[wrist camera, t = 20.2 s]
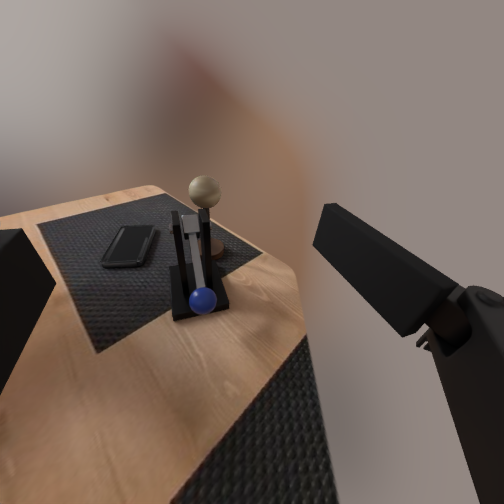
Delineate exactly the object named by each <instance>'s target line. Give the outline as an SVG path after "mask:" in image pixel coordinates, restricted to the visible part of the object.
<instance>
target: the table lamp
mask: <svg viewBox="0 0 504 504" xmlns="http://www.w3.org/2000/svg"><path fill="white" fill-rule="evenodd" d="M189 196H190V198H191V200H192V201H193V203H194V204H195V205H197V206H199V207H201V208H203V209H205V211H206V213H207V216H208V218H209V221H210V214H209V208H211V207H213V206H215V205H216V204H217V203H218V202H219V200H220V197H221V188H220V186H219V184H218V182H217V181H216V180H215V179H214V178H212V177H210V176H199V177H196V178H195V179H194V180H193V181H192V182H191V184H190V187H189ZM197 242H198V248H199V253H200V259H201V261H202V251H201V239H200V240H198V241H197ZM223 254H224V244H223V243H222V242H221V241H220V240H217V239H214V238H211V257H212V260H217V259H219V258H221V257H222V256H223Z"/></svg>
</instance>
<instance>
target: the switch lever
mask: <svg viewBox="0 0 504 504" xmlns="http://www.w3.org/2000/svg"><path fill="white" fill-rule="evenodd" d="M182 225H183V231H184V238H185V240H187V239H189V244H190V250H191V256H192V262H193V269H194V275H195V281H196V287H197V289H196V290H194V291H193V292H192V294H191V296H190V298H189V305H190V307H191V309H192V310H193V311H194V312H195V313H197V314H200V315H205V314H208V313H210V312H211V311H212V310H213V309H214V308H215V306H216V303H217V297H216V294H215V293H214V291H213V290H211V289H210V288H207V287H205V282H204V277H203V271H202V265H201V259H200V253H199V248H198V242H197V238H200V228H199V223H198V217H197V214H196V215H184V216H182Z"/></svg>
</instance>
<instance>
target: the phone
mask: <svg viewBox="0 0 504 504" xmlns="http://www.w3.org/2000/svg"><path fill="white" fill-rule="evenodd" d="M155 231H156V230H155V226H154V225H126V226H122V227H121V228H120V230H119V231H118V233H117V235H116V236H115V238H114V239H113V241H112V243H111V244H110V246H109V248H108V249H107V251H106V253H105V254H104V256H103V257H102V259H101V261H100V262H101V264H102V267H103V268H117V267H136V266H141V265H143V264H144V263H145V260H146V257H147V254H148V251H149V248H150V245H151V243H152V240H153V237H154V234H155Z"/></svg>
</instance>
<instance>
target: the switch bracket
mask: <svg viewBox="0 0 504 504" xmlns="http://www.w3.org/2000/svg"><path fill="white" fill-rule="evenodd" d="M198 213H199V226H200V238H201V251H202V262H201V265H202V271H203V277H204V282H205V287H207V288H210V289H211V290H213V291H214V293H215V294H216V297H217V303H216V306H215V308H214V309H213V310H212V311H211V312H210V313H213V312H217V311H221V310H226V309H229V300H228V297H227V294H226V291H225V288H224V285H223V282H222V279H221V276H220V273H219V270H218V267H217V264H216V261H215V260H212V257H211V235H210V230H212V224H211V221H209V218H208V216H207V213H206V211H205V209H198ZM171 219H172V224H169V230H170V234H174V240H175V246H176V252H177V258H178V264H179V265H176V266H169V276H170V291H171V306H172V317H173V321H177V320H181V319H186V318H190V317H195V316H199V315H200V314H197V313H195V312H194V311H193V310H192V309H191V307H190V305H189V298H190V296H191V294H192V292H193V291H194V290H196V289H197V287H196V281H195V275H194V269H193V263H189V264H185V257H184V250H183V242H182V235H181V228H180V221H179V215H178V211H171Z"/></svg>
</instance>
